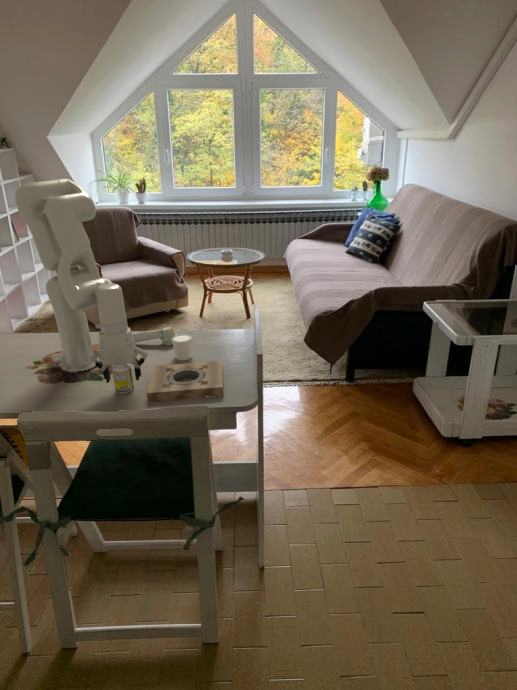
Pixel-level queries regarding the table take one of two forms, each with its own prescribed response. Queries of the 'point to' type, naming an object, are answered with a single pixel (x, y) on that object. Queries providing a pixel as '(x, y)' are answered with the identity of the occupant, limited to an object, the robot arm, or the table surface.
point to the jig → (169, 388)
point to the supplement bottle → (123, 378)
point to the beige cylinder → (182, 346)
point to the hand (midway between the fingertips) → (123, 379)
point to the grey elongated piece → (156, 335)
